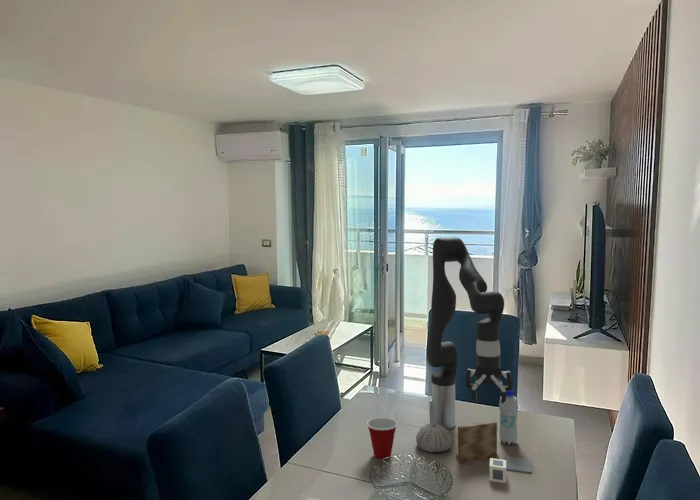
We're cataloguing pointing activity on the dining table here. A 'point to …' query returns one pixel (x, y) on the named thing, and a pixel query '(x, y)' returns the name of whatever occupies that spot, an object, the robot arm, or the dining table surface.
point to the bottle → (508, 418)
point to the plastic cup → (382, 436)
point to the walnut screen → (477, 441)
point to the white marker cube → (498, 470)
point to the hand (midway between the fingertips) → (489, 401)
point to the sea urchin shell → (434, 438)
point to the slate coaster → (518, 464)
